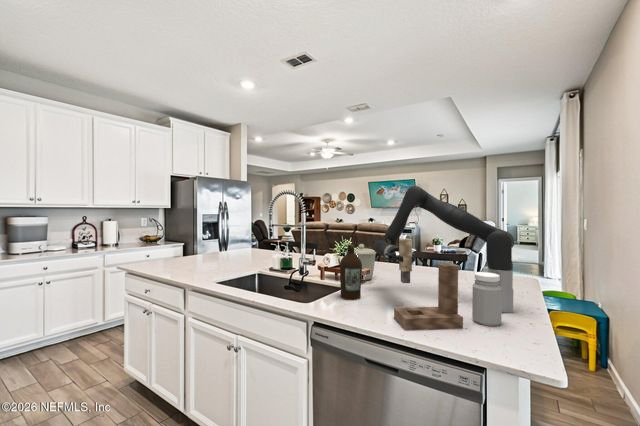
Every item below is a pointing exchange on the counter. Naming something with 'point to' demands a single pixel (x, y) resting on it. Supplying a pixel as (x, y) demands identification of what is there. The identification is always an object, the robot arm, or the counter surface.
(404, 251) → the beige wooden post
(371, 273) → the canister
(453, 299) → the brown wooden stand
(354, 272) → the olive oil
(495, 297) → the jar
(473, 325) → the counter surface
